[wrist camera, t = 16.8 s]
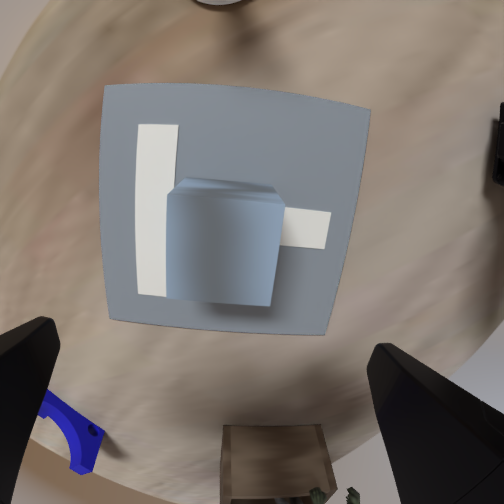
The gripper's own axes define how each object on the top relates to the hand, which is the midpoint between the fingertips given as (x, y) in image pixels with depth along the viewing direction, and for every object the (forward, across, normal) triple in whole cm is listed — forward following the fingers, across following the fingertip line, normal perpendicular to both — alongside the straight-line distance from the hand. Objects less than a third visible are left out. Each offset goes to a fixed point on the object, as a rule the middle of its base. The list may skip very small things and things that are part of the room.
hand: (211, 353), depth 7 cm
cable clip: (+12, +18, +22) cm, 31 cm away
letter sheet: (+12, 0, 0) cm, 12 cm away
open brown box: (+12, -6, +25) cm, 28 cm away
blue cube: (+12, 0, 0) cm, 12 cm away
